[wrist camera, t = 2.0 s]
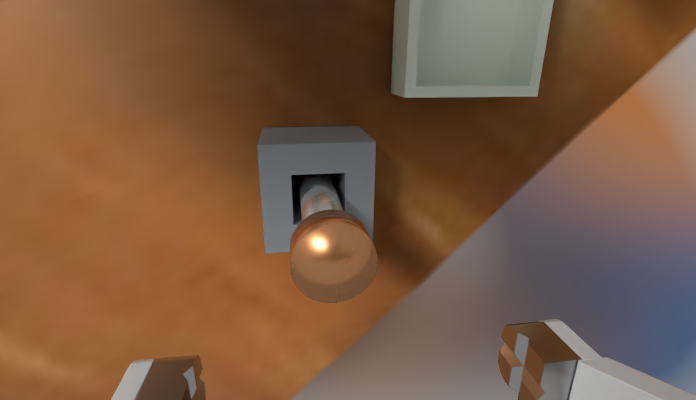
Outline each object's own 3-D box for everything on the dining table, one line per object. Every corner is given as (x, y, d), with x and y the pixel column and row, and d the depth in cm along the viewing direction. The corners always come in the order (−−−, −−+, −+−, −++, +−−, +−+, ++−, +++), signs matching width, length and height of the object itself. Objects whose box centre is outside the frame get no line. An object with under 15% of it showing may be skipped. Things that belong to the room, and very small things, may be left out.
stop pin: (286, 149, 24) (288, 228, 13) (336, 148, 25) (379, 222, 14) (289, 197, 25) (292, 306, 14) (337, 195, 26) (376, 299, 15)
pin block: (262, 127, 24) (256, 145, 19) (358, 125, 24) (375, 141, 20) (268, 217, 26) (265, 253, 21) (357, 213, 27) (372, 246, 22)
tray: (397, -57, 21) (413, -74, 18) (530, -50, 22) (564, -66, 20) (390, 92, 24) (404, 97, 21) (509, 92, 25) (537, 96, 22)
